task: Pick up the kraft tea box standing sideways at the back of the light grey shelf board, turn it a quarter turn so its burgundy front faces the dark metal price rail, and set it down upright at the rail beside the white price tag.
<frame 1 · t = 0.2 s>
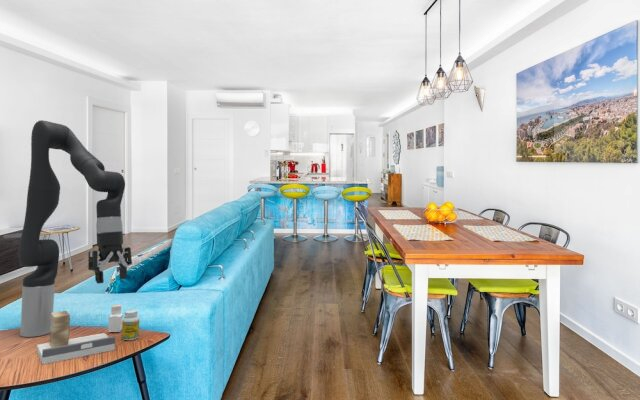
hand: (111, 281, 124), 22 cm above the table, tool pointing down, fingers open, 8 cm apart
shelf: (76, 350, 121), on the table
supplement bottle: (130, 339, 134), on the table
tea box: (58, 345, 119), point 2 cm above the table, touching shelf
pepper shaker: (115, 332, 140), on the table
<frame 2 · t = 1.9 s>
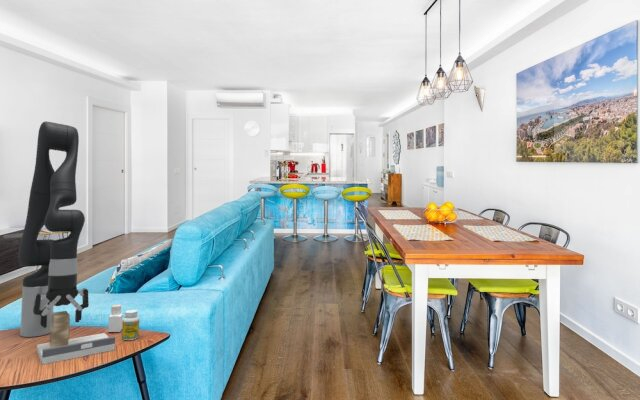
hand: (61, 324, 120), 9 cm above the table, tool pointing down, fingers open, 8 cm apart
nothing on the table moved.
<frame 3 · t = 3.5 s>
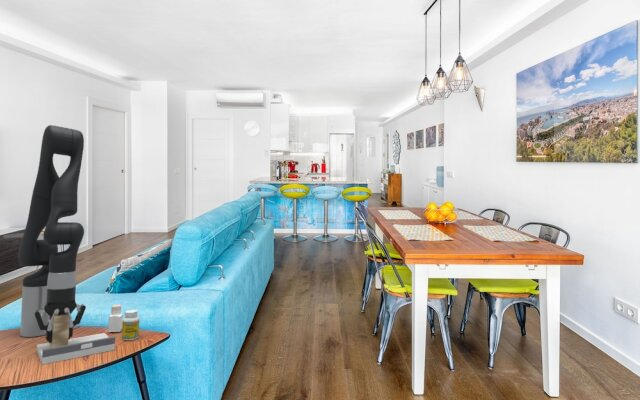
hand: (59, 340, 119), 4 cm above the table, tool pointing down, fingers closed on tea box, 4 cm apart
tea box: (58, 345, 119), point 2 cm above the table, touching gripper, shelf
everything else where it was.
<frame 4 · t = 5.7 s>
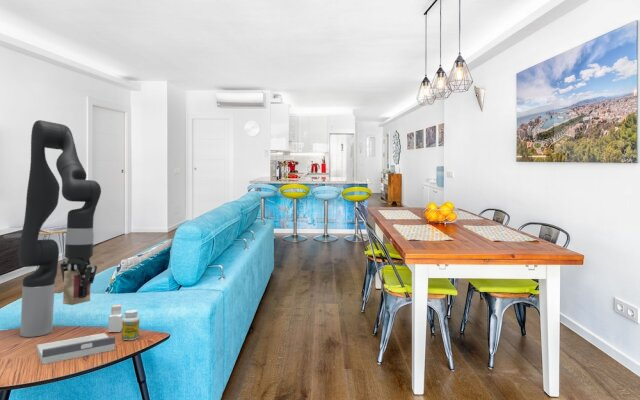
hand: (77, 296, 120), 17 cm above the table, tool pointing down, fingers closed on tea box, 4 cm apart
tea box: (76, 302, 120), point 16 cm above the table, touching gripper
everything else where it was.
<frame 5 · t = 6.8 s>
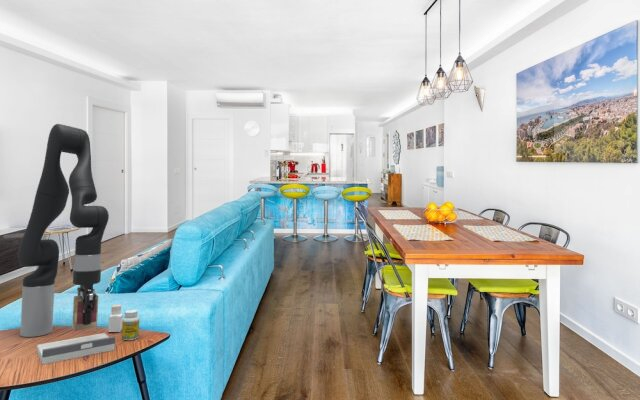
hand: (85, 322, 121), 9 cm above the table, tool pointing down, fingers closed on tea box, 4 cm apart
tea box: (84, 327, 121), point 8 cm above the table, touching gripper
everything else where it was.
when the fingers open (5 cm above the table, at t = 7.8 s): tea box drops 1 cm, resting on shelf.
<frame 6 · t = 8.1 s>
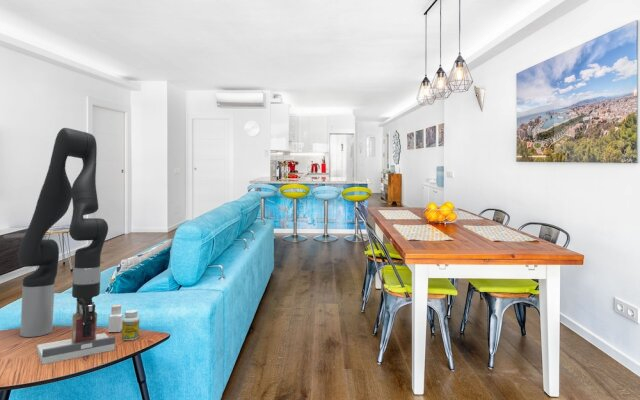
hand: (84, 333, 121), 6 cm above the table, tool pointing down, fingers open, 6 cm apart
tea box: (83, 345, 121), point 2 cm above the table, touching shelf
everything else where it was.
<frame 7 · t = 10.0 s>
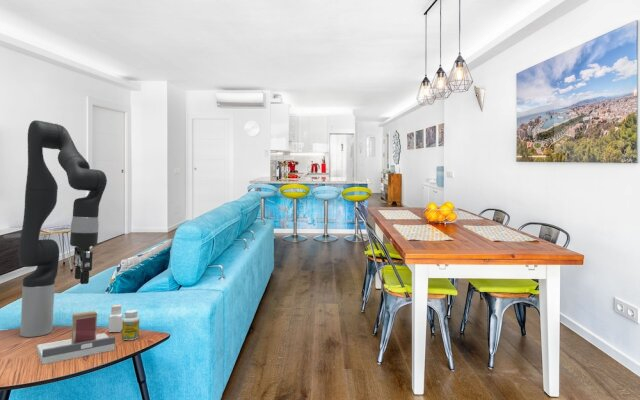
hand: (81, 281, 122), 22 cm above the table, tool pointing down, fingers open, 8 cm apart
nothing on the table moved.
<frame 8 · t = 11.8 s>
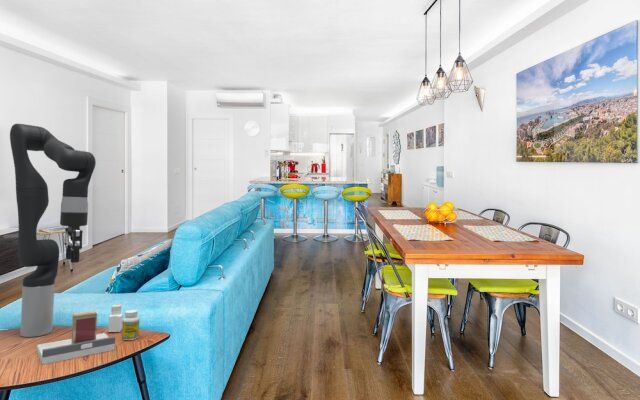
hand: (72, 260, 124), 28 cm above the table, tool pointing down, fingers open, 8 cm apart
nothing on the table moved.
at the end: tea box 0.1 cm from the target spot on the shelf, point 2.0 cm above the shelf's base; tea box tilted 0°; the gripper is holding nothing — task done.
